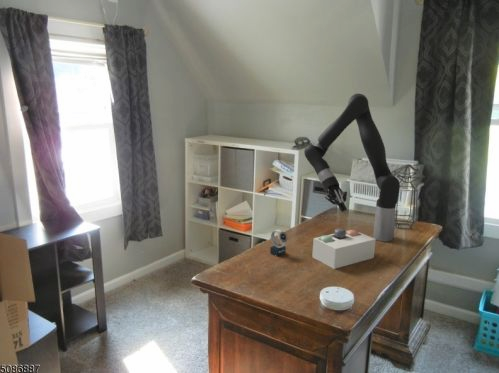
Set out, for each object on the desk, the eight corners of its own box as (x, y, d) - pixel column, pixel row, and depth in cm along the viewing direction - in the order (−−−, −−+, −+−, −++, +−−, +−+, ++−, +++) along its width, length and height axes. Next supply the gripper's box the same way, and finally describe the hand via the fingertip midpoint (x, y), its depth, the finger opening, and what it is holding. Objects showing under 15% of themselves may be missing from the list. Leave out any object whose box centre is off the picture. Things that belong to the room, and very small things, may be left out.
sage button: (326, 243, 186) (327, 234, 185) (334, 246, 182) (334, 238, 181) (317, 245, 183) (318, 236, 182) (325, 248, 179) (326, 240, 178)
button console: (351, 247, 198) (352, 229, 195) (373, 257, 186) (375, 239, 184) (312, 257, 185) (313, 238, 183) (333, 268, 174) (335, 248, 172)
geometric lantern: (389, 229, 224) (394, 165, 217) (386, 221, 239) (391, 161, 232) (420, 231, 221) (426, 167, 214) (415, 223, 236) (421, 162, 229)
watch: (280, 257, 184) (281, 234, 181) (267, 252, 190) (268, 229, 187) (288, 254, 188) (289, 231, 185) (275, 249, 193) (276, 226, 191)
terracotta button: (352, 237, 194) (352, 229, 193) (360, 240, 190) (360, 232, 189) (344, 238, 192) (345, 230, 191) (352, 242, 187) (352, 234, 186)
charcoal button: (339, 235, 190) (340, 227, 189) (347, 239, 185) (348, 231, 184) (331, 237, 187) (332, 229, 186) (339, 241, 183) (340, 232, 182)
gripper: (322, 177, 194) (338, 208, 187) (342, 174, 201) (359, 205, 194) (313, 185, 199) (329, 216, 192) (334, 182, 206) (350, 212, 199)
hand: (344, 210), depth 193 cm, fingers closed
